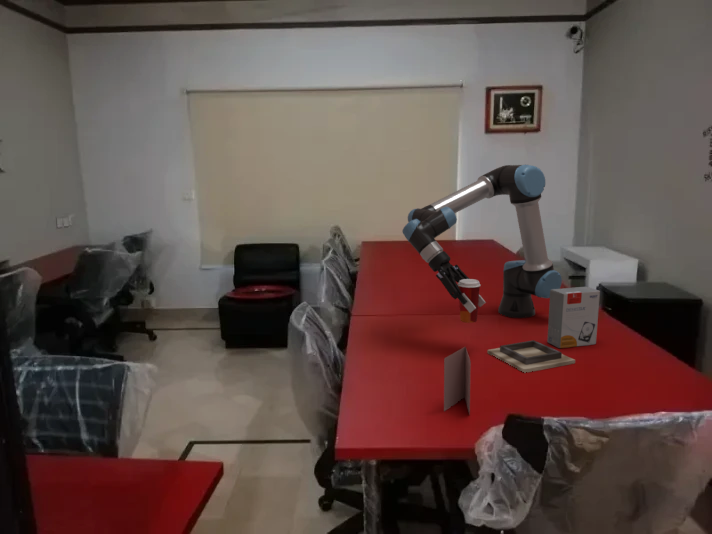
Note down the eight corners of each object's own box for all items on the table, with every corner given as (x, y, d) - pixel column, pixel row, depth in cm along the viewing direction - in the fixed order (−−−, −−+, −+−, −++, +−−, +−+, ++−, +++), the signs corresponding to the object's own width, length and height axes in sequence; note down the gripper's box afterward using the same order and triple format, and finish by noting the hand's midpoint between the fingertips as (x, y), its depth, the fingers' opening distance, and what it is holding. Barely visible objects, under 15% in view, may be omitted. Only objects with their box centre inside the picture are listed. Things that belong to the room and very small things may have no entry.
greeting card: (461, 396, 158) (462, 346, 155) (485, 403, 153) (487, 351, 150) (441, 410, 149) (441, 357, 146) (465, 418, 145) (466, 363, 142)
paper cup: (476, 316, 196) (477, 278, 194) (482, 323, 189) (483, 283, 186) (454, 317, 196) (455, 278, 193) (459, 324, 189) (459, 283, 186)
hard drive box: (559, 349, 194) (562, 293, 190) (546, 342, 201) (548, 289, 198) (597, 344, 198) (600, 290, 194) (583, 338, 205) (586, 285, 202)
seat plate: (487, 353, 192) (487, 344, 191) (534, 345, 199) (535, 336, 198) (524, 373, 174) (524, 363, 173) (575, 363, 181) (575, 354, 180)
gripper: (441, 259, 206) (482, 307, 200) (415, 268, 189) (458, 321, 183) (455, 246, 202) (496, 294, 196) (429, 254, 185) (473, 308, 179)
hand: (478, 307), depth 190 cm, fingers closed on paper cup, 8 cm apart
